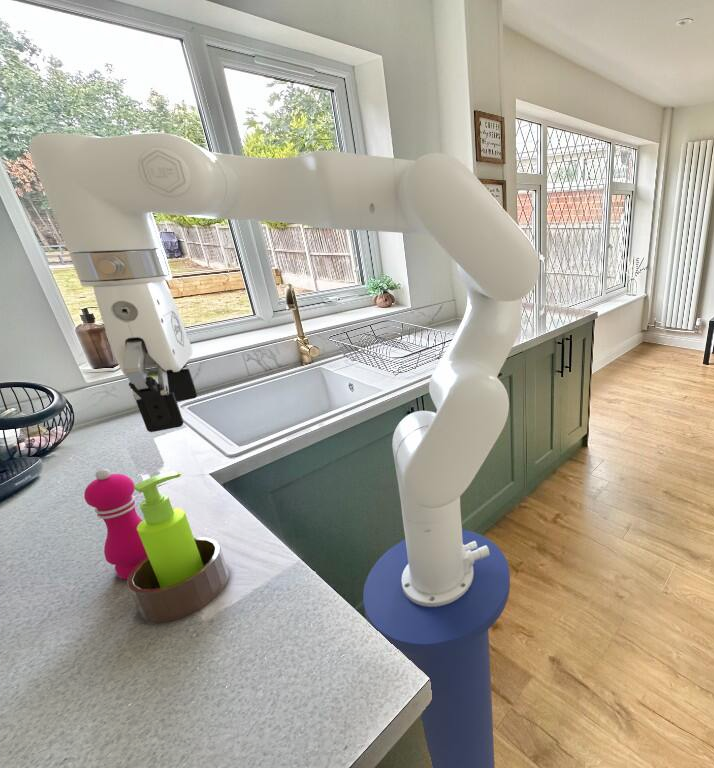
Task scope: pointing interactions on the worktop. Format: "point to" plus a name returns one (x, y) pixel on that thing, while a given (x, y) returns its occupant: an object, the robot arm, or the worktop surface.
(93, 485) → the pepper mill
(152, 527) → the soap dispenser
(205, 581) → the bowl
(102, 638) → the worktop surface
